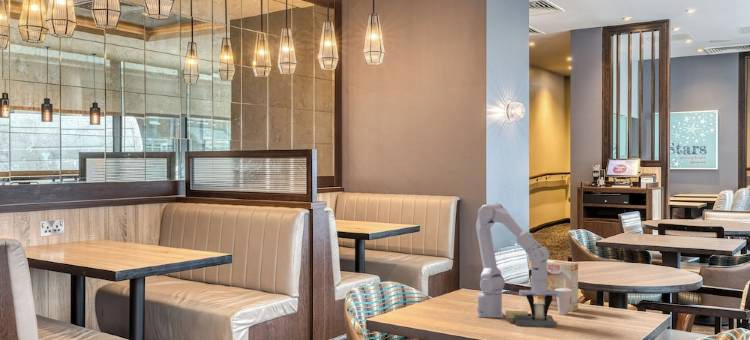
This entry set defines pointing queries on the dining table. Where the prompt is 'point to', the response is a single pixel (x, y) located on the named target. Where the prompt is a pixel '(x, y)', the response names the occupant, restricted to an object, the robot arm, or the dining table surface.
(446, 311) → the dining table surface
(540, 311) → the white capsule cylinder
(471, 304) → the dining table surface
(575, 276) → the coffeecake box
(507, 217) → the robot arm
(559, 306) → the smoothie
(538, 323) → the jig
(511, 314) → the shunt bar
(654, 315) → the dining table surface
